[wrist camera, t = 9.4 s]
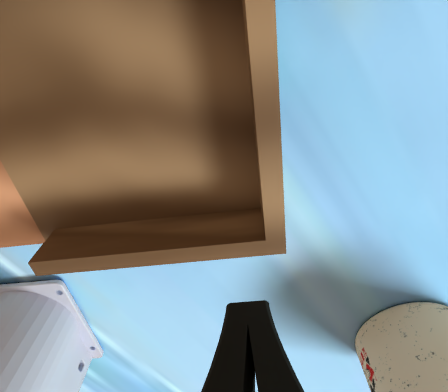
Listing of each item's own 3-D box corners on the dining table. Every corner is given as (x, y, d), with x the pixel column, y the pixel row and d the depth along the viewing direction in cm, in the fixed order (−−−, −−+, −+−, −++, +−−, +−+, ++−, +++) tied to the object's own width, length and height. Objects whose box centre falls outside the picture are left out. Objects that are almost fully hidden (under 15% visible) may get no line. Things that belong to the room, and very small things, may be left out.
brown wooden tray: (276, 210, 20) (286, 253, 16) (-54, 244, 22) (-107, 288, 18) (259, -76, 12) (270, -107, 9) (-233, 14, 14) (-375, 17, 11)
